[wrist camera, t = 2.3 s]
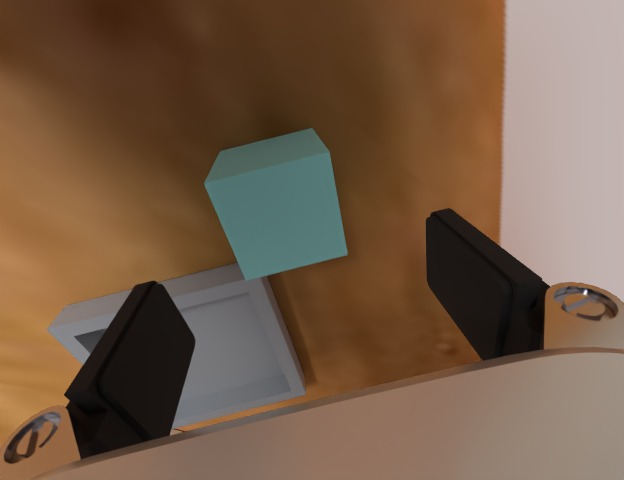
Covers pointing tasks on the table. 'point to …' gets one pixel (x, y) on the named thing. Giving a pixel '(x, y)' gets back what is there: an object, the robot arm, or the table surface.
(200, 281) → the tray
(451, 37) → the table surface
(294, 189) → the cube
